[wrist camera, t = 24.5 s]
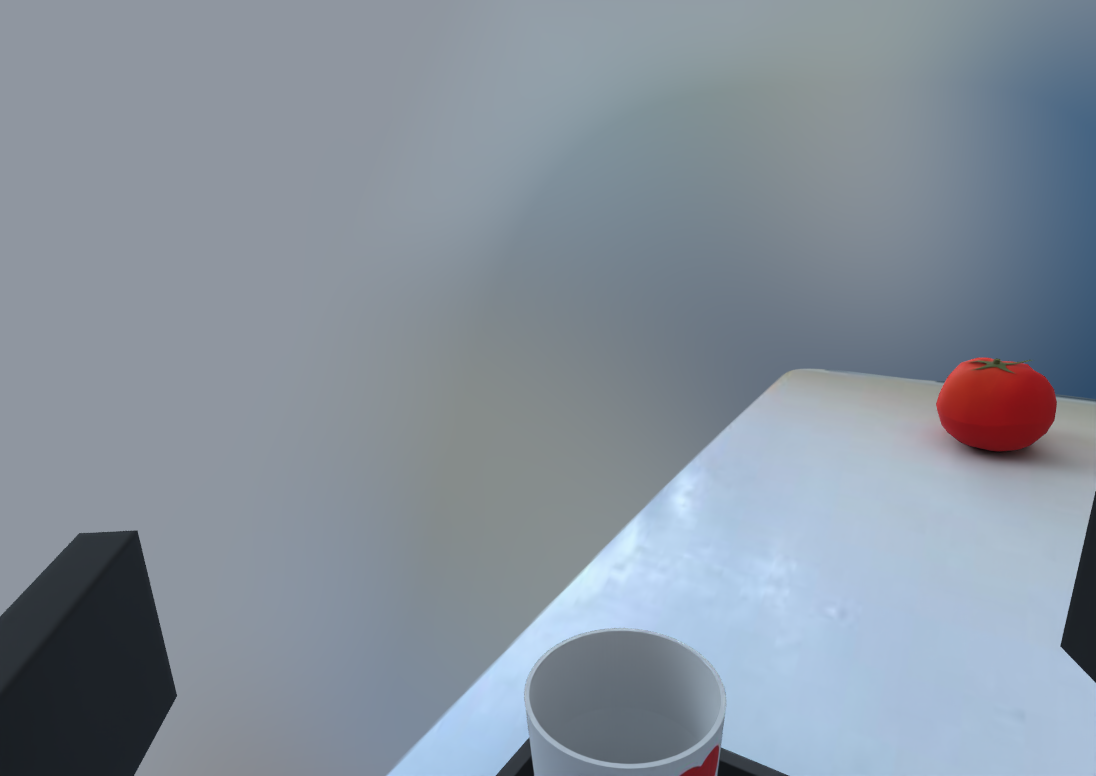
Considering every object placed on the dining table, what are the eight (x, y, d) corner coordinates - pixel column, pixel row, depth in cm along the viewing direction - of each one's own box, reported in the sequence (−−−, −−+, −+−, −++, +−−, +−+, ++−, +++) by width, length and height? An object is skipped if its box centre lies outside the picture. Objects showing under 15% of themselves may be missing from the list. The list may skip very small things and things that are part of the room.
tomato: (1068, 449, 76) (1086, 364, 73) (995, 475, 72) (1011, 385, 69) (978, 416, 84) (991, 338, 81) (907, 438, 80) (918, 356, 77)
